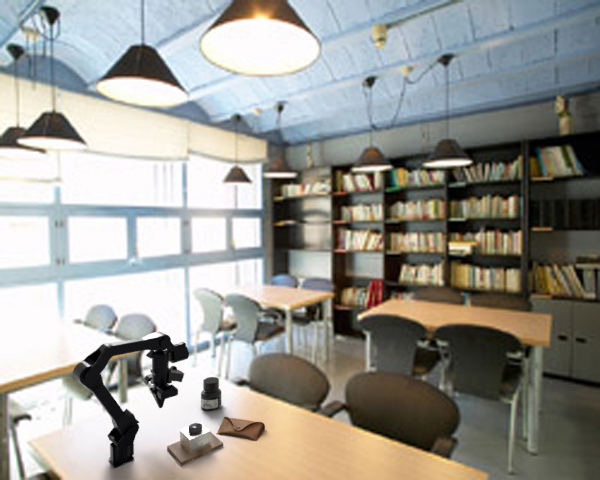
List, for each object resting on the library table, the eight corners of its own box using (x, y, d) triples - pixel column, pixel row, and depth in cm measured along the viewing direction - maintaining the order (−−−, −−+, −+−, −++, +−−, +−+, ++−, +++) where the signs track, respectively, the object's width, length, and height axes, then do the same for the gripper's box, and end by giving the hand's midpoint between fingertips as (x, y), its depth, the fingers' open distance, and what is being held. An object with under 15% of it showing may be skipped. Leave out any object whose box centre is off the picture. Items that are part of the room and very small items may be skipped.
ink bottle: (196, 409, 158) (196, 382, 157) (207, 400, 166) (206, 374, 166) (215, 413, 155) (215, 385, 155) (225, 403, 164) (225, 377, 163)
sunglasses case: (214, 434, 139) (218, 415, 142) (221, 434, 145) (224, 416, 148) (258, 441, 135) (261, 421, 138) (263, 441, 141) (266, 422, 144)
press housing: (190, 454, 125) (189, 439, 125) (180, 444, 131) (180, 429, 131) (210, 445, 131) (210, 430, 131) (200, 435, 137) (200, 421, 136)
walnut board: (181, 465, 121) (181, 462, 121) (167, 449, 130) (167, 446, 130) (223, 446, 132) (223, 443, 132) (207, 432, 141) (207, 429, 141)
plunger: (192, 448, 128) (192, 431, 127) (186, 442, 131) (186, 426, 131) (204, 443, 131) (204, 426, 131) (198, 437, 134) (198, 421, 134)
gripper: (191, 368, 132) (191, 410, 133) (172, 354, 146) (172, 392, 147) (161, 376, 125) (161, 420, 125) (143, 361, 139) (143, 400, 139)
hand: (160, 407), depth 134 cm, fingers closed
